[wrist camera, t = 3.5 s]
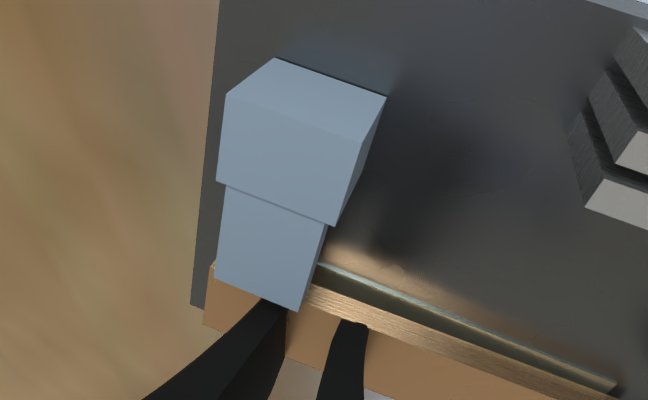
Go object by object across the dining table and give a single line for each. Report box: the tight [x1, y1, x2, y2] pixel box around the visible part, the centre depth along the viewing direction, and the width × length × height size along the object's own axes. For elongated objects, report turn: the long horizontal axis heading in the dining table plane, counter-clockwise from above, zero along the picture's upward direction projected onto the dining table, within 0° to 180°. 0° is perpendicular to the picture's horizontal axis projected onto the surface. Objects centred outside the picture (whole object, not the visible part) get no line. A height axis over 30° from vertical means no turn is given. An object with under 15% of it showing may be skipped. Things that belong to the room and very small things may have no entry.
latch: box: [214, 58, 387, 312], centre depth 10 cm, size 2×4×2 cm, turn 165°
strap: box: [203, 259, 620, 400], centre depth 12 cm, size 12×2×1 cm, turn 75°
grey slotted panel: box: [190, 0, 648, 400], centre depth 11 cm, size 14×11×4 cm
